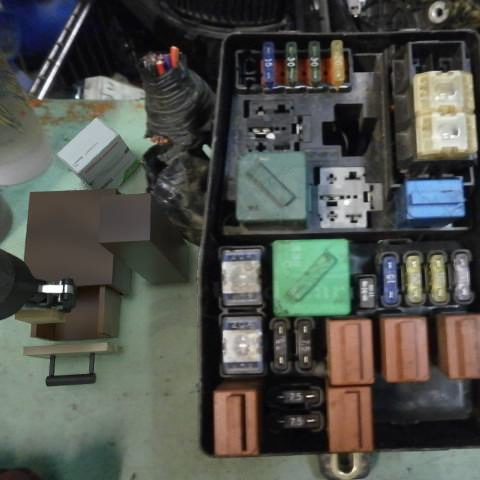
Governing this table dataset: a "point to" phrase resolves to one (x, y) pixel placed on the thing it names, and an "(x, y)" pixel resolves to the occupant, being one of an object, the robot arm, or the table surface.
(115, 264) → the cabinet
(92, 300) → the drawer
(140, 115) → the table surface
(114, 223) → the post
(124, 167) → the ink box
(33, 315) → the block
